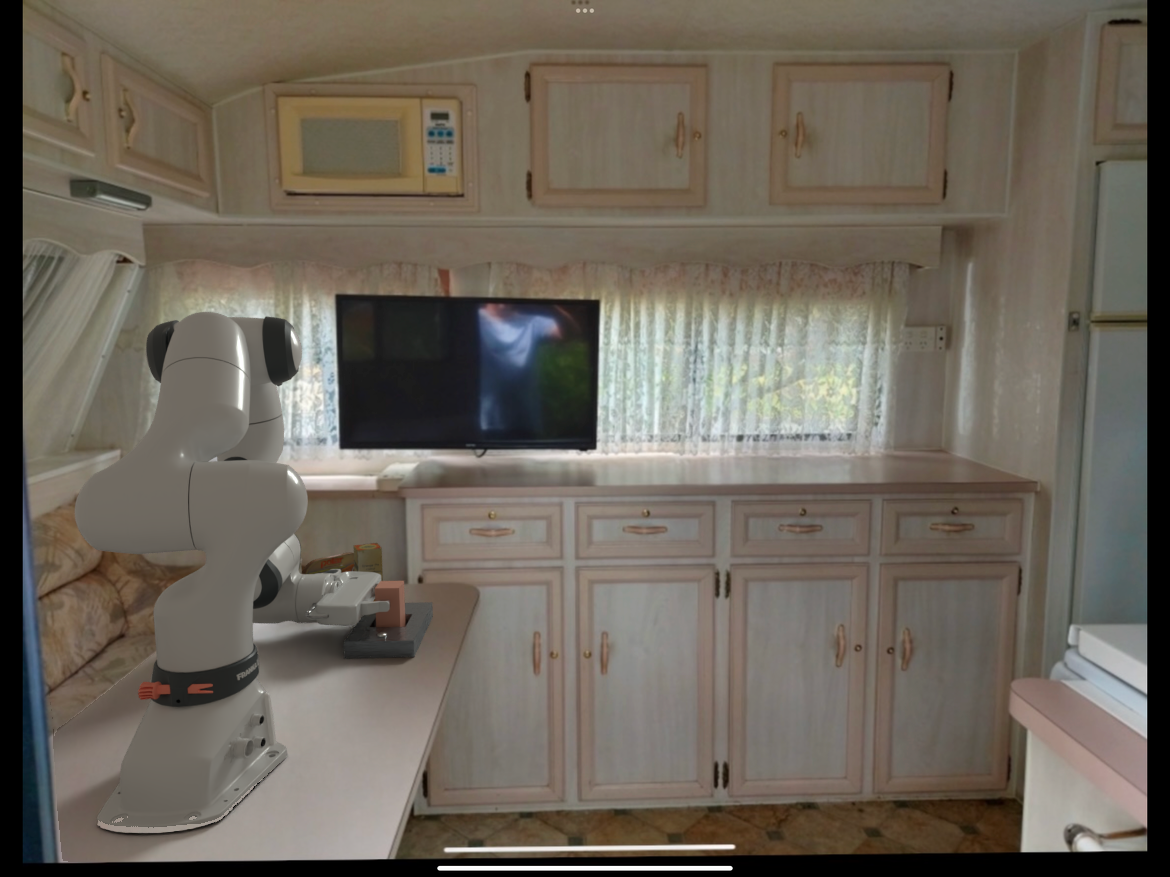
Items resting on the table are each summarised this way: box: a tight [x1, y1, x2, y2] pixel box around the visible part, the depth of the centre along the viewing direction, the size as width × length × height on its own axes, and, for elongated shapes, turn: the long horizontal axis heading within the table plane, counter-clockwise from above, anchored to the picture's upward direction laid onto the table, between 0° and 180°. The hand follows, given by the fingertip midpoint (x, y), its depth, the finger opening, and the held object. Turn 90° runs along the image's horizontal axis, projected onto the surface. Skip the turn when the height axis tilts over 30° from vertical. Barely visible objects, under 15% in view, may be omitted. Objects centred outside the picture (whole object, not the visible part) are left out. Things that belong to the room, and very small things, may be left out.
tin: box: [302, 552, 354, 574], centre depth 164 cm, size 15×3×8 cm, turn 133°
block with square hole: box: [343, 601, 434, 659], centre depth 139 cm, size 20×12×3 cm, turn 2°
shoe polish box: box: [353, 542, 384, 602], centre depth 158 cm, size 5×5×12 cm
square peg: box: [375, 580, 406, 627], centre depth 138 cm, size 4×4×10 cm
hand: (395, 597), depth 138 cm, fingers open, 8 cm apart
